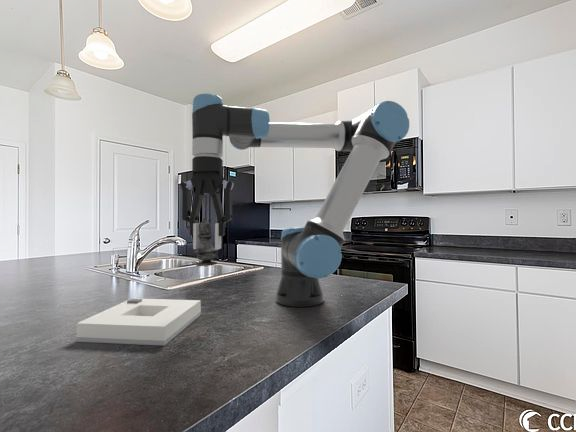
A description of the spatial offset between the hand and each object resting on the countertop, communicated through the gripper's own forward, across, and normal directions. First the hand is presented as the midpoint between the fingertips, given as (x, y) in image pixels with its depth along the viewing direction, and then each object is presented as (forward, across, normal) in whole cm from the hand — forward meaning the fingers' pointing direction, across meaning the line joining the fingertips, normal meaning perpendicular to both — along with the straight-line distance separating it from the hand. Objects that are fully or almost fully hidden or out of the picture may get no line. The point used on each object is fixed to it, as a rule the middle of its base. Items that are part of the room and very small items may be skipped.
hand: (207, 248), depth 80 cm
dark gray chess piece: (+4, 0, 0) cm, 4 cm away
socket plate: (+19, +14, +5) cm, 24 cm away
